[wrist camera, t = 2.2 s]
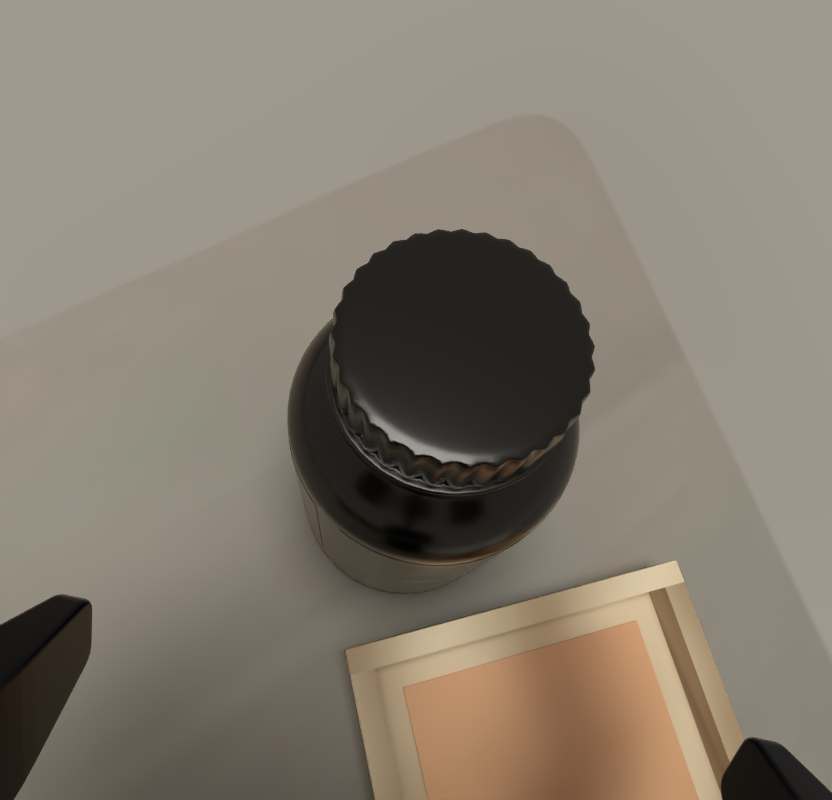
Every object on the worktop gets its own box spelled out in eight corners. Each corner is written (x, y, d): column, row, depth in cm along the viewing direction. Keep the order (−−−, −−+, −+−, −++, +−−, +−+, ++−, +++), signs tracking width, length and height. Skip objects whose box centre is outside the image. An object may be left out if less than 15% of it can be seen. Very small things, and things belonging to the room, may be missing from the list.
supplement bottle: (513, 431, 23) (677, 240, 12) (475, 618, 21) (638, 592, 10) (336, 381, 23) (339, 142, 12) (275, 563, 21) (208, 472, 10)
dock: (431, 1086, 16) (442, 1137, 15) (344, 649, 20) (345, 650, 18) (785, 936, 19) (829, 965, 17) (650, 566, 22) (676, 560, 20)
